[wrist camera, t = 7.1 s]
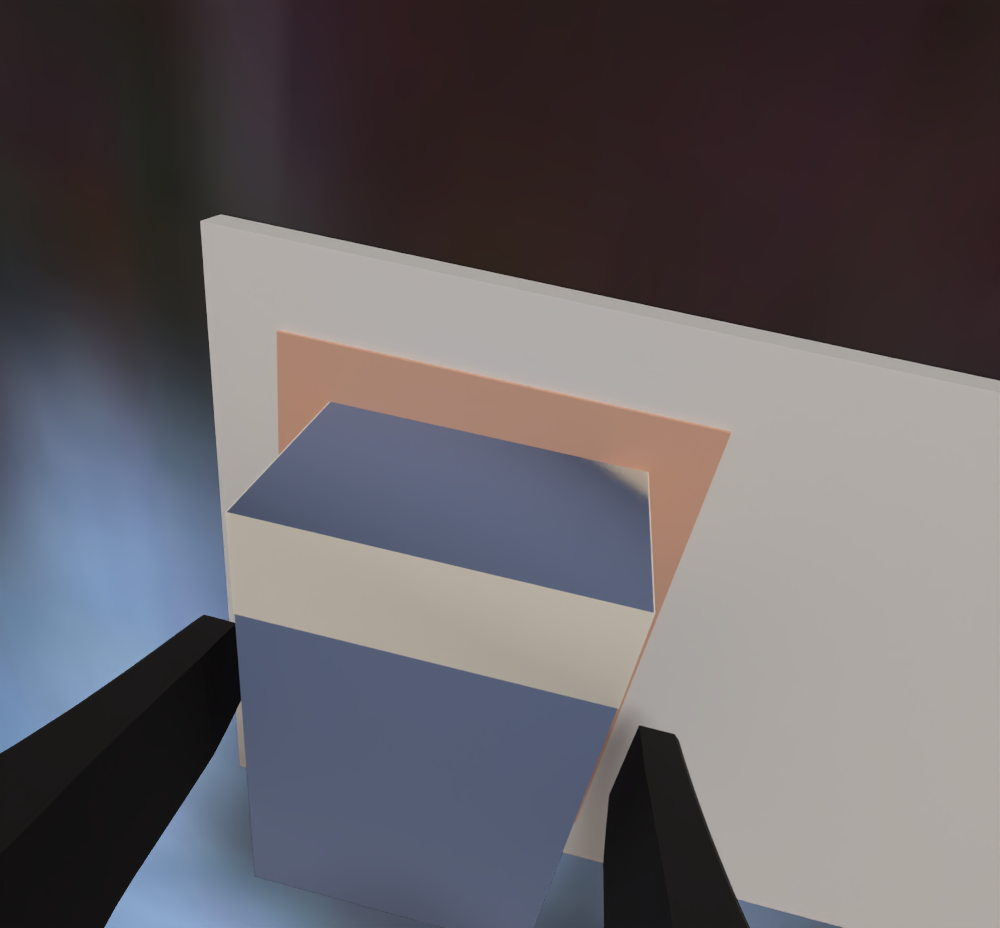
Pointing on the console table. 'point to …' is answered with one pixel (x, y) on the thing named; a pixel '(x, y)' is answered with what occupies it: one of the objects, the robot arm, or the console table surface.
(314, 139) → the console table surface
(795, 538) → the mat
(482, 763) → the card deck
